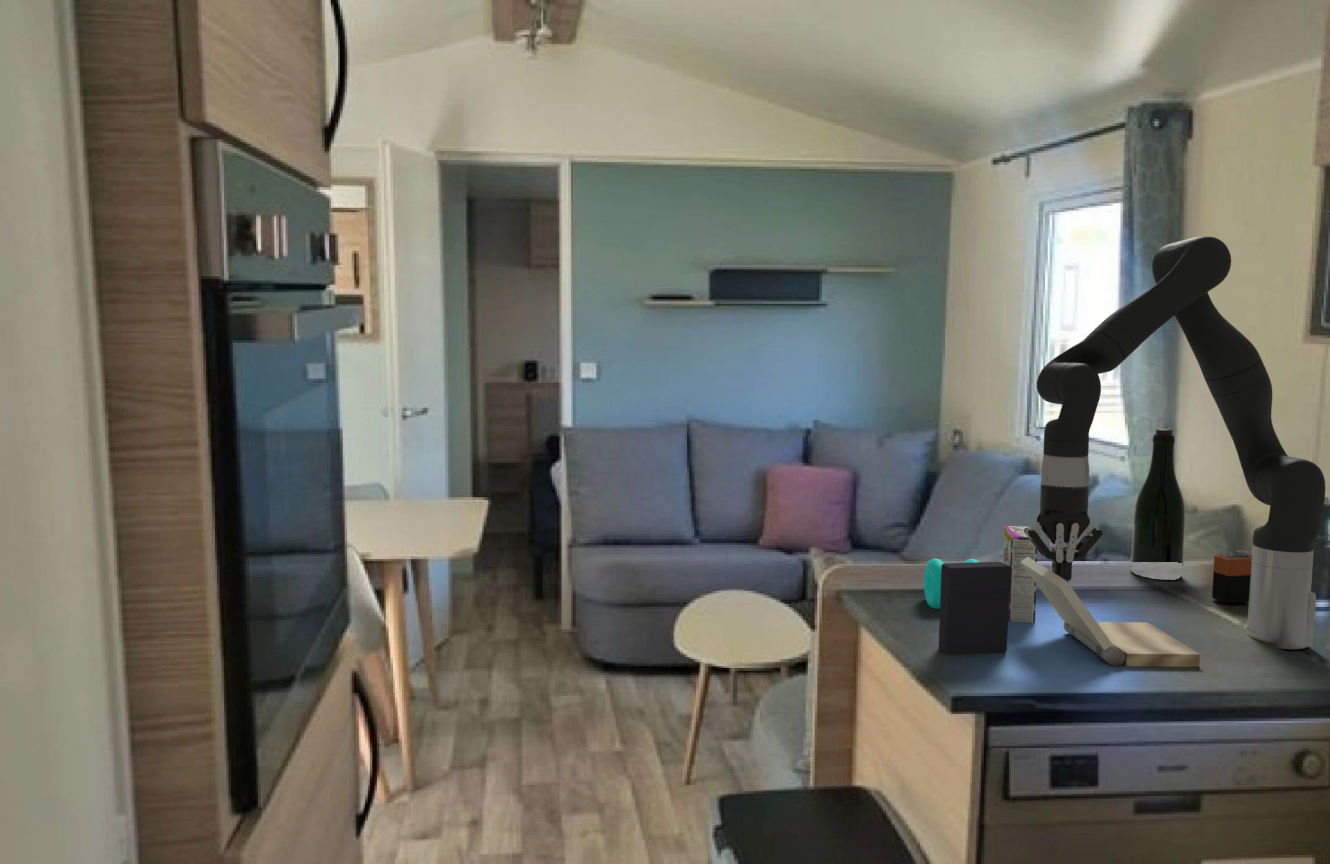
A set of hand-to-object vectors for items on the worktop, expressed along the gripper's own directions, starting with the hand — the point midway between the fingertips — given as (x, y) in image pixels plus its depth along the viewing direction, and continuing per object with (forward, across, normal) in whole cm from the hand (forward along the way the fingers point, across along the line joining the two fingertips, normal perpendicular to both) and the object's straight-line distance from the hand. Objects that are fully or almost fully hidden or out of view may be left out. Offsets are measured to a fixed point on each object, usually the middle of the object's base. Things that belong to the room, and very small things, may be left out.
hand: (1061, 582), depth 171 cm
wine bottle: (+12, -42, -53) cm, 68 cm away
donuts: (+12, +11, -24) cm, 29 cm away
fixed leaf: (+12, -13, 0) cm, 17 cm away
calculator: (+12, +15, +2) cm, 19 cm away
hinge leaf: (+10, -6, 0) cm, 12 cm away
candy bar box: (+12, 0, -20) cm, 23 cm away
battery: (+12, -48, -33) cm, 59 cm away
